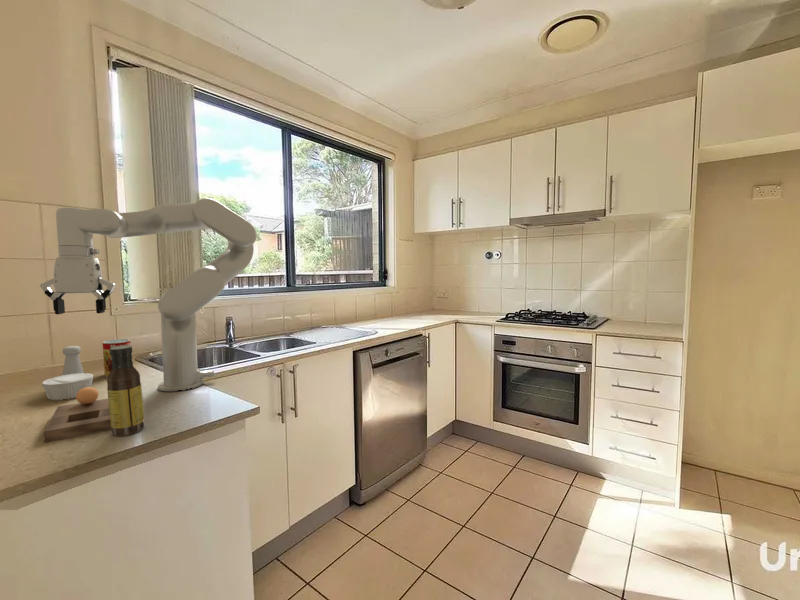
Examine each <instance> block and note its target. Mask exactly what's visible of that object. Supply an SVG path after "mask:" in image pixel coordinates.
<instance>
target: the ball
mask: <svg viewBox="0 0 800 600" xmlns="http://www.w3.org/2000/svg"><path fill="white" fill-rule="evenodd" d="M98 397H99V391H98V389H96V388H95V387H94V386H93V387H92V386H91V387H85V388H83V389H81V390H80V391H78V393H77V395H76V398H75V399H76V401H77V403H81V404H90V403H93V402H94V401H96V400H98Z"/></svg>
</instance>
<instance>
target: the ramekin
mask: <svg viewBox="0 0 800 600" xmlns="http://www.w3.org/2000/svg"><path fill="white" fill-rule="evenodd" d="M93 379H94V374H93V373H88V372H87V373H85V372H84V373H77V374H68V375H63V376H62V375H58V376H54V377H51V378H48V379H45V380H44V381H42V382H41V386H42V387H43V388H44V393H45V396H46V397H47V399H49V400H50V399H51V400H50V401H64V400H63V399H67V400H70V399H69V398H72V399H76V398H75V397H76V395H77V393H78V391H80V390H81V389H83V388H85V387H92V384H93Z"/></svg>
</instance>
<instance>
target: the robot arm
mask: <svg viewBox="0 0 800 600" xmlns="http://www.w3.org/2000/svg"><path fill="white" fill-rule="evenodd" d="M55 222H56V236H57V237H56V238H57V248H58V249H57V251H58V257H56V258H55V261H54V267H53V278H52V279H50V280H47V281H45V282H43V283H41V284H39V287H40V288H41V290H42V291H43V292H44V295H45V296H47V297H48V298H49V299H50V300H51V301H52V305H53V311H54V314H55V315H62V314H65V313H66V310H65V309H66V307H65V299H63V297H64V296H65V295H66V294H93V295H94V296H95V297H96V298H97V299H95V310H96V311H95V312H96V313H97V314H103V313H106V310H107V304H106V302H107V301H106V299H108V297H109V296H110V295H111V294H112V293H113V291H114V289H115V288H116V283H114V282H111V281H110V280H107V279H105V278H104V276H103V272H102V268H101V267H102V266H101V263H100V260H99V258H95V257H96V255H99V254H100V249H98V248H97V249H96V248H95V245H94V234H95V235H101V236H104V237H107V238H111V239H121V238H123V239H124V238H131V237H132V238H133V237H139V236H140V237H142V236H148V235H149V236H150V235H156V234H157V235H158V234H159V235H160V234H168V233H169V234H170V233H176V232H177V233H178V232H187V231H195V230H206V229H207V230H208V229H210V230H211V231H213V232H214V233H216V234H218V235H220V236H221V237H223V238H224V239H226V241H227V248H226V249H225V250H224V251H223V252H221V254H219V255H217V256H216V257H215V258H214V259H212V260H211V261H210V262H208V263H206V264H205V265H204V266H202V267H199V268H197V269H196V270H194V271H193V272H192V273H191V274H190V275H188V276H187V277H185V278H184V279H183V280H181V281H179V282H178V283H177V284H175V285H174V286H172V288H170V289H168V290H166V291H165V292H164V293H163V294H162V295H161V296H160V297H159V298H158V299H159V300H158V302H157V308H158V311H159V313H160V328H161V331H160V332H161V349H162V350H161V352H162V356H161V357H162V371H163V372H162V373H163V381H162V382H160V383H158V385H157V388H158V390H159V391H162V392H179V391H178V390H182V391H187V390H186V389H188V390H191V389H190V388H192V389H196V388H198V387H201V386H202V385H204V383H205V382H204V378H210V377H215V371H214V370H207V369H206V370H202V371H201V370H200V369H199V368H198V366H199V365H198V345H197V318H196V317H197V316H196V313H197V312H198V311H200V309H202V308H204V307H205V306H206V305H207V304H209V303H210V302H211V301H213V300H214V299H215V298H216V297H217V296H219V295H220V294H221V293H222V292H223V290H224V289H225V287H226V285H228V283H230V282H231V281H232V280H233V279H235V278H236V277H237V276H238V275H239V274H241V273H242V271H244V270H245V269H246V268H247V267H248V266H249V265H250V263H251V262H252V259H253V255H254V250H255V249H254V248H255V247H254V243H256V240H257V237H258V233H257V230H256V228H255V226H254V225H253V224H252V223H250V222H249V221H248V220H247V219H246V218H244V217H242V216H240V215H239V214H237V213H236V212H235V211H233V210H231V209H230V208H228V207H227V206H225V205H224V204H223V203H221V202H219V201H218V200H216V199H214V198H211V197H210V198H209V197H203V198H200V199H198V200H196V201H195V202H181V203H180V202H179V203H164V204H159V205H155V206H154V207H152V208H149V209H146V210H140V211H131V212H117V211H115V210H112V209H110V208H94V209H92V208H91V209H86V208H79V207H59V208H57V209H56V211H55ZM52 286H53V289H54V291H53V290H52V289H51V287H52ZM105 287H106V289H105V290H104V288H105Z"/></svg>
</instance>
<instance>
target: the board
mask: <svg viewBox="0 0 800 600" xmlns="http://www.w3.org/2000/svg"><path fill="white" fill-rule="evenodd" d="M108 430H112V427H111V421H110V412H109V402H108V398H102V399H96V400H95V401H94V402H93V403H90V404H81V403H79V402H77V403H72V404H64V405H59V406H57V407H56V409H55V411H54V413H53V414H52V416H51V418H50V419H49V421H48V423H47V425H46V426H45V429H44V430H43V438H44V440H43V441H44V443H48V442H53V440H54V441H58V439H59V440H64V439H69V438H73V437H78V436H79V437H80V436H83V435H88V434H93V433H94V434H95V433H98V432H104V431H108ZM68 437H69V438H68ZM63 438H64V439H63Z"/></svg>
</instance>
